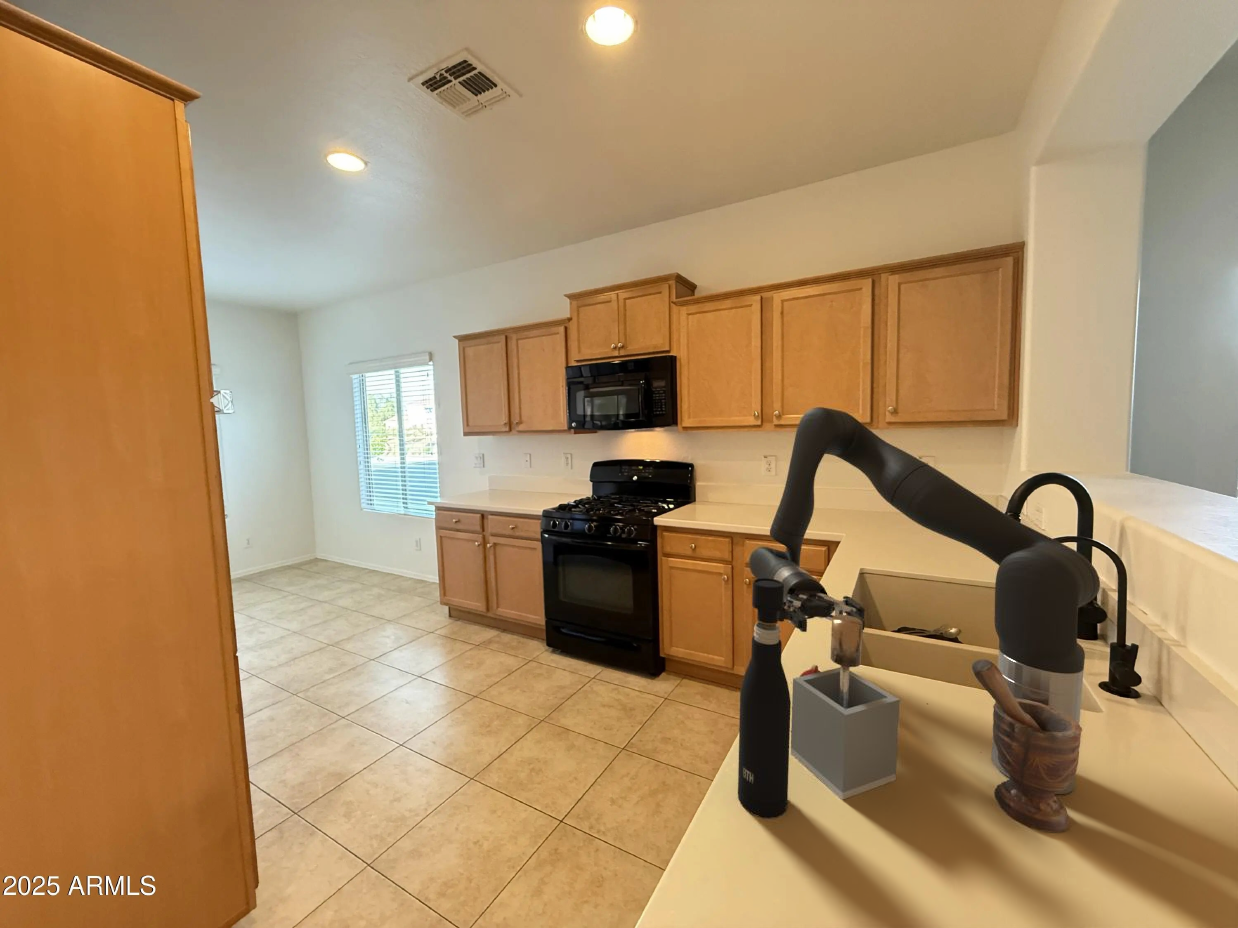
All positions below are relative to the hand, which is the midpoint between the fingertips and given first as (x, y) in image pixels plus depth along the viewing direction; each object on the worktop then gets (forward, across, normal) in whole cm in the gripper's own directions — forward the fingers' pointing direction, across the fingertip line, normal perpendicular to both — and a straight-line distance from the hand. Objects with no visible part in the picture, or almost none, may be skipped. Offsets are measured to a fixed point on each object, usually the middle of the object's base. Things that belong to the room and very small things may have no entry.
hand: (832, 626), depth 75 cm
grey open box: (+5, 0, +19) cm, 20 cm away
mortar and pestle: (+12, +20, +20) cm, 30 cm away
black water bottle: (+12, -13, +20) cm, 26 cm away
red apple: (-10, +1, +20) cm, 22 cm away
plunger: (+5, 0, +16) cm, 17 cm away
